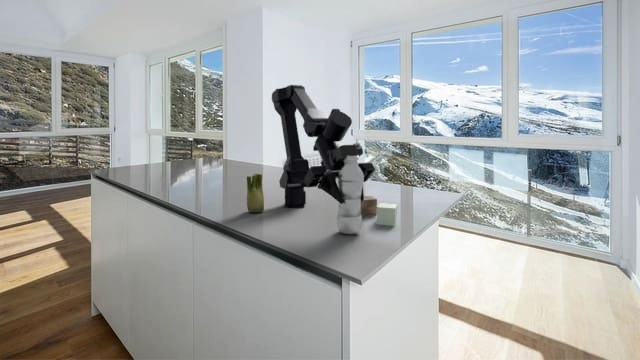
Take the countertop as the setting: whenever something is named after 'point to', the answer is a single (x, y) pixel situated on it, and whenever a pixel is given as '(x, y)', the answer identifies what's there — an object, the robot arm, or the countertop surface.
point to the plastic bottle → (350, 196)
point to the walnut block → (368, 206)
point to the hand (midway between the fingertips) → (352, 201)
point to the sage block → (386, 214)
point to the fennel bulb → (255, 194)
